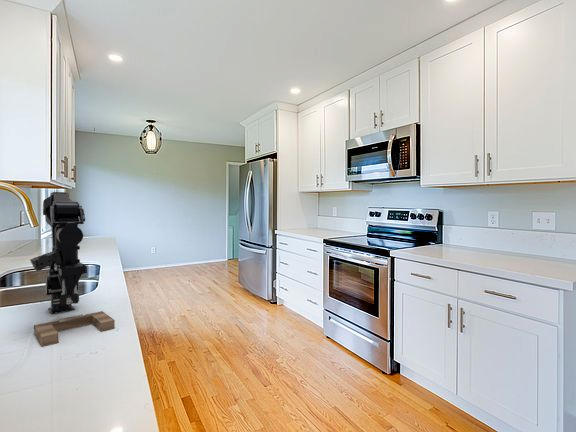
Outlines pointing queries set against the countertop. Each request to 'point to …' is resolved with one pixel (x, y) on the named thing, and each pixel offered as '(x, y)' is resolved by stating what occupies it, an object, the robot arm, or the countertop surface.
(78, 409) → the countertop surface
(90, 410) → the countertop surface
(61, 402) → the countertop surface
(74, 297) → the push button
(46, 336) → the notched board
